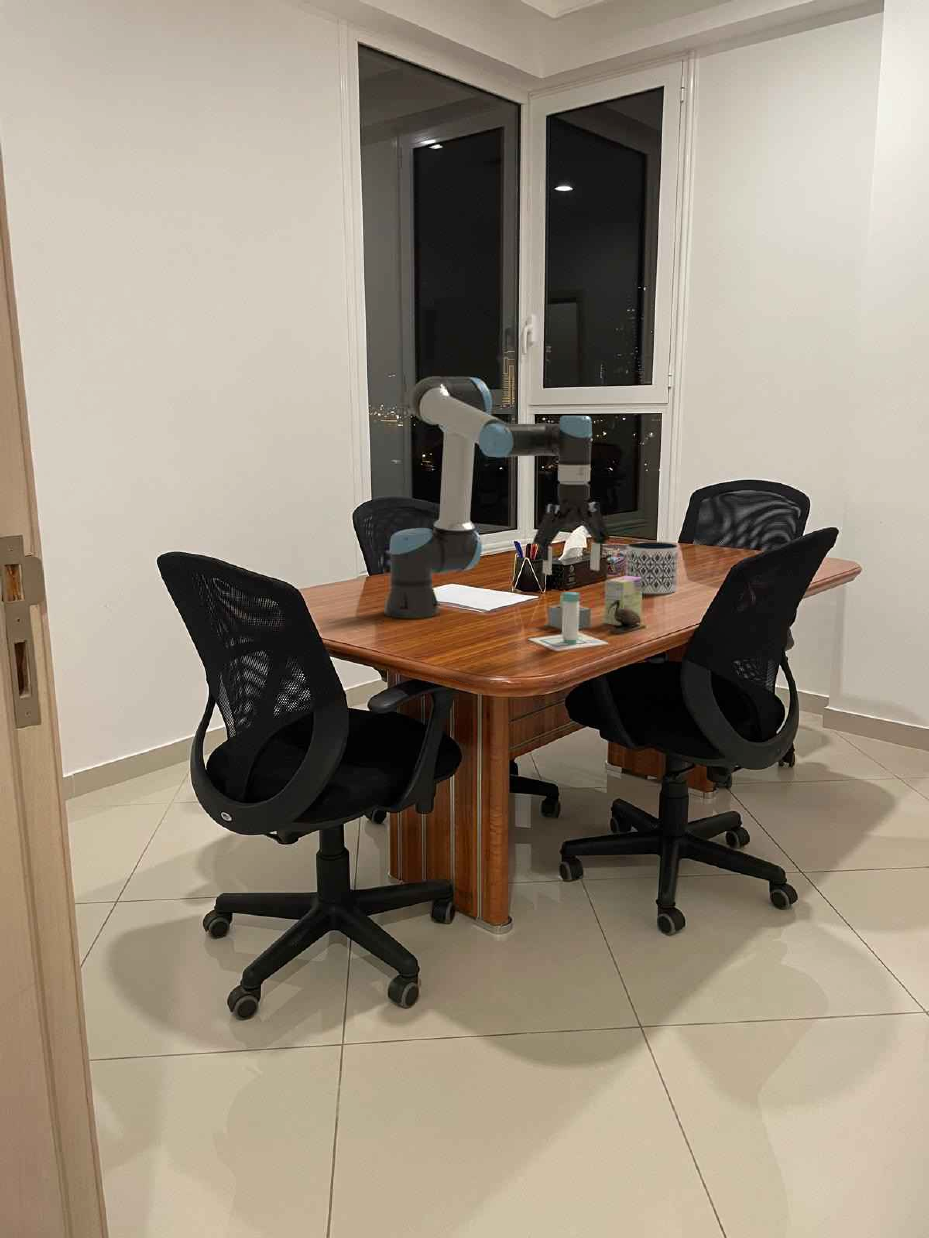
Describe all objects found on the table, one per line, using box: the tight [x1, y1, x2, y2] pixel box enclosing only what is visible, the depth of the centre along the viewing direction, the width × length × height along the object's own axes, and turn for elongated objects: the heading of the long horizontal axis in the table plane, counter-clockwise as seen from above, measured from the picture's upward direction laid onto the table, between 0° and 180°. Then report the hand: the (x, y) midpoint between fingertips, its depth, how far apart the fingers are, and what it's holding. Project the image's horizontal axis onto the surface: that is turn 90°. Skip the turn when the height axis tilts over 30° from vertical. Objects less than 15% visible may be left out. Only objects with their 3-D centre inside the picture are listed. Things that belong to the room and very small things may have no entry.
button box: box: [547, 604, 592, 631], centre depth 251 cm, size 8×8×5 cm
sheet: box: [528, 632, 610, 652], centre depth 234 cm, size 15×13×1 cm
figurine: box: [608, 600, 647, 635], centre depth 246 cm, size 14×4×9 cm, turn 136°
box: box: [603, 575, 643, 626], centre depth 256 cm, size 10×6×12 cm, turn 141°
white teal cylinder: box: [561, 591, 581, 644], centre depth 231 cm, size 4×4×12 cm
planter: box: [625, 541, 679, 595], centre depth 301 cm, size 16×16×14 cm
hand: (571, 572), depth 229 cm, fingers open, 13 cm apart
